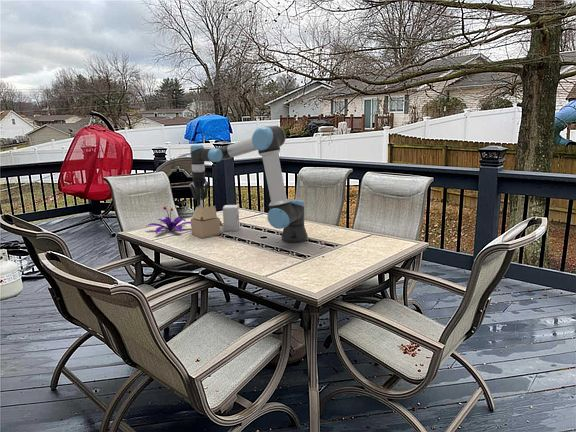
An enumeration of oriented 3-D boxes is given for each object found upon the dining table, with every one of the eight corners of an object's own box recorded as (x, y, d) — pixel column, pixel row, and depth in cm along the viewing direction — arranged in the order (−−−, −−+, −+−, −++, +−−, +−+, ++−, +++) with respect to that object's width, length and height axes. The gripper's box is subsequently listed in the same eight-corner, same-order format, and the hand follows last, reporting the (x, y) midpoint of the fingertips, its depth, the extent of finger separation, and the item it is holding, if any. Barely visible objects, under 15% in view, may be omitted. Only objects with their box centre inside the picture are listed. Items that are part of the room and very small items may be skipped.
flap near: (217, 217, 252) (215, 205, 252) (203, 219, 247) (201, 208, 246) (216, 217, 253) (214, 205, 252) (203, 219, 247) (201, 208, 247)
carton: (226, 233, 259) (225, 217, 256) (202, 238, 248) (201, 222, 246) (211, 228, 271) (210, 212, 269) (188, 233, 260) (187, 217, 258)
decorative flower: (184, 222, 288) (182, 200, 284) (201, 232, 262) (200, 208, 259) (142, 229, 273) (140, 206, 269) (156, 239, 247) (154, 215, 244)
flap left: (200, 220, 247) (204, 209, 248) (199, 219, 247) (203, 208, 248) (192, 217, 254) (197, 206, 255) (191, 217, 254) (196, 206, 254)
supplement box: (237, 231, 263) (236, 207, 260) (223, 231, 263) (222, 207, 260) (239, 227, 272) (238, 204, 268) (226, 227, 272) (224, 204, 269)
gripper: (205, 169, 255) (207, 207, 261) (185, 171, 247) (188, 211, 252) (211, 170, 250) (213, 209, 255) (191, 172, 241) (194, 213, 247)
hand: (201, 210), depth 254 cm, fingers closed
